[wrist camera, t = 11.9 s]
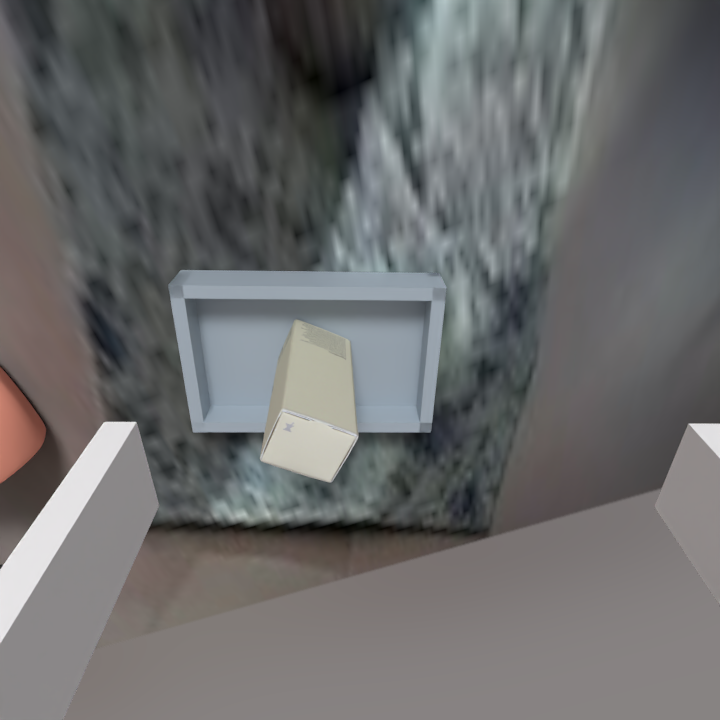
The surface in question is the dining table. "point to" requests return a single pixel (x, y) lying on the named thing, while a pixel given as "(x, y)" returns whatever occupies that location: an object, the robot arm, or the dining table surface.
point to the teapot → (17, 428)
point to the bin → (324, 310)
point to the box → (311, 404)
